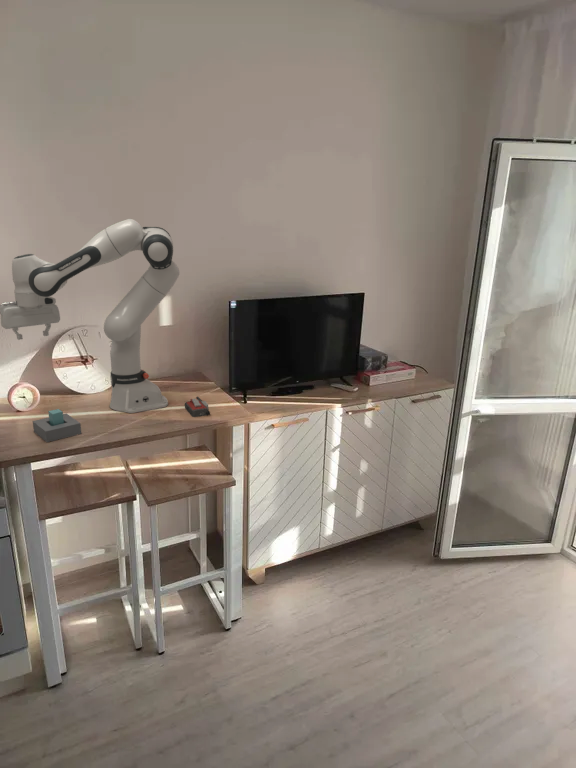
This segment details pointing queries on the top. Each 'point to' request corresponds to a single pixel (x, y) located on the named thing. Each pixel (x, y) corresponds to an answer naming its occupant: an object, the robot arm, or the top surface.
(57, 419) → the plug
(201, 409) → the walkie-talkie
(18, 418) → the top surface
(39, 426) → the socket
